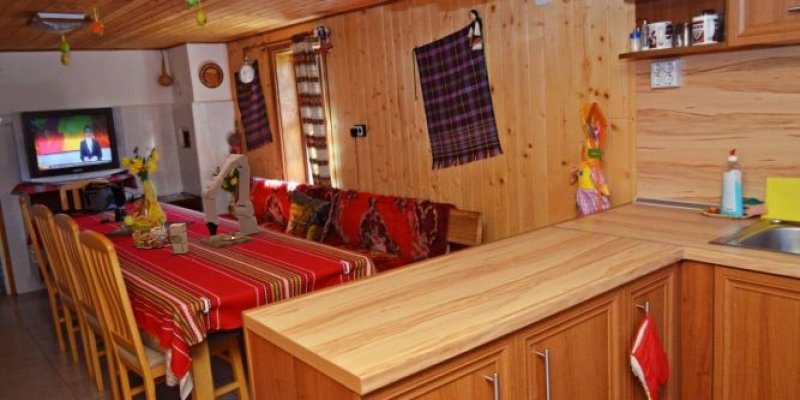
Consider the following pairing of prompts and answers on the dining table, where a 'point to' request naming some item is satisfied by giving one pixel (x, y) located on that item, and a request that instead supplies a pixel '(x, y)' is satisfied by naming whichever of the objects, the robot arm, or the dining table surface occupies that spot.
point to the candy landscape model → (152, 238)
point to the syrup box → (179, 238)
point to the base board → (227, 242)
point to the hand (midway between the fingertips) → (213, 236)
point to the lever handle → (224, 237)
